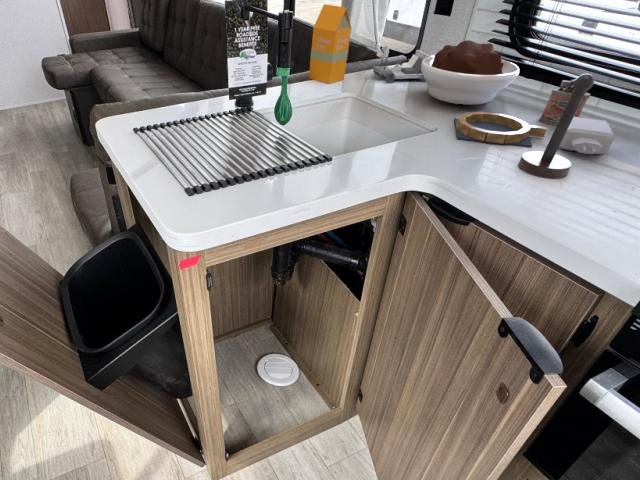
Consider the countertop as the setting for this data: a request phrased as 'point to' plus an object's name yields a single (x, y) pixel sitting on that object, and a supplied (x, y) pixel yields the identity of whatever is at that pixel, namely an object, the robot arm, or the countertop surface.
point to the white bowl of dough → (467, 73)
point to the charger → (588, 136)
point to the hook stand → (557, 138)
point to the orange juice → (330, 45)
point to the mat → (492, 127)
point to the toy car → (400, 66)
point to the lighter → (560, 103)
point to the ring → (494, 136)
